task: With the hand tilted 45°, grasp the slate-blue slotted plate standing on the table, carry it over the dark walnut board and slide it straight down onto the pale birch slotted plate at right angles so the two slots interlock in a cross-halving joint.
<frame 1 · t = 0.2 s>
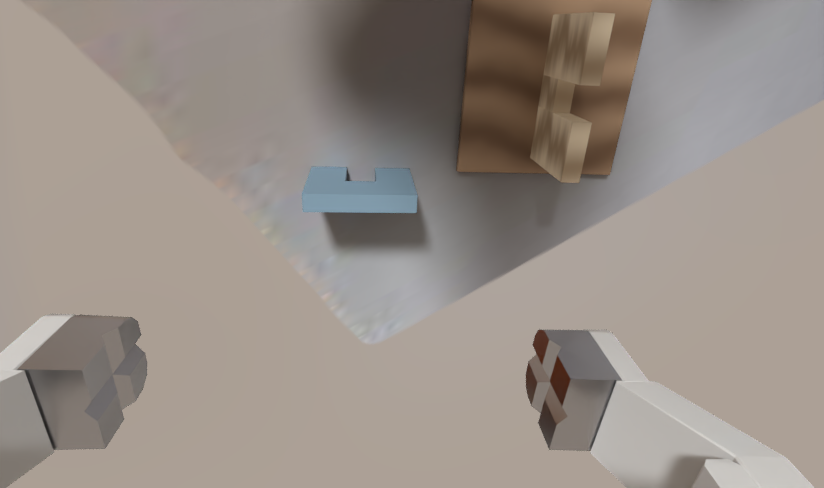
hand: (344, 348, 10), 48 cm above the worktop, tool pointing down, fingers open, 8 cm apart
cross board: (545, 89, 55), on the worktop
slotted plate: (361, 175, 57), on the worktop
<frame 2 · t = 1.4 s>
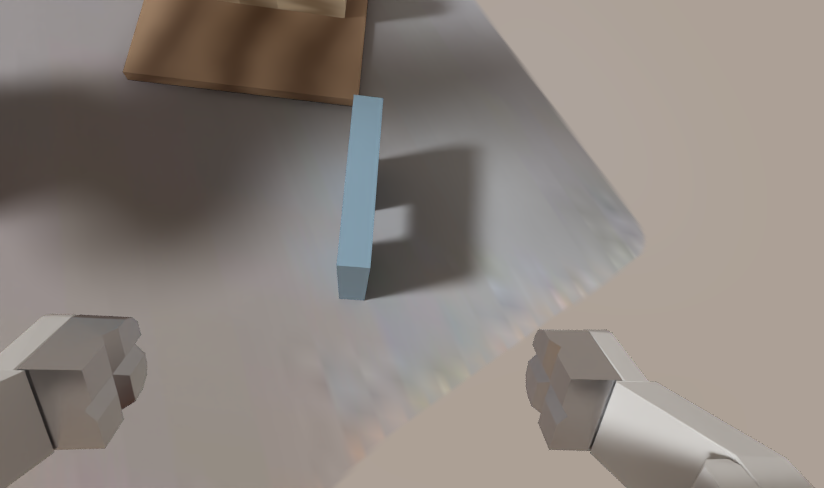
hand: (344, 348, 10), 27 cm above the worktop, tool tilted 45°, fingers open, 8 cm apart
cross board: (262, 6, 44), on the worktop
slotted plate: (357, 229, 38), on the worktop
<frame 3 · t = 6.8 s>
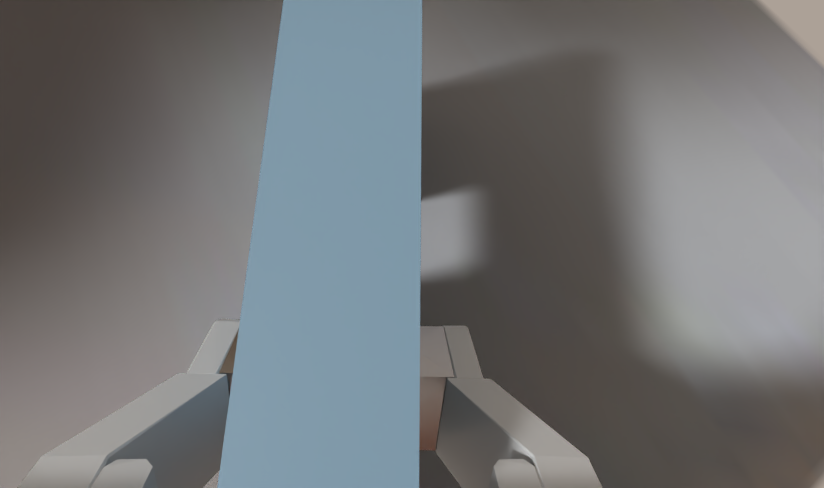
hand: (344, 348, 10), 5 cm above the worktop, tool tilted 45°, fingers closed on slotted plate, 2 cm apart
slotted plate: (356, 251, 16), on the worktop, touching gripper
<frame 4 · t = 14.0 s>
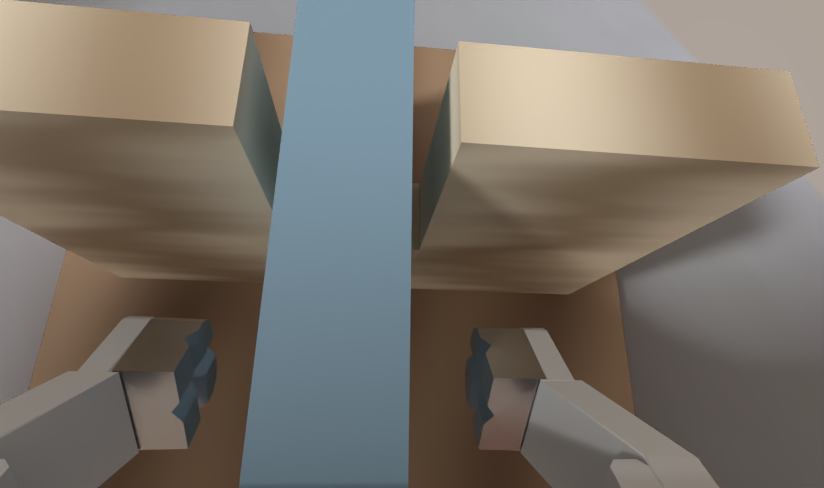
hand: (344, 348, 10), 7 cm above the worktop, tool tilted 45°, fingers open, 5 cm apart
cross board: (357, 267, 18), on the worktop
slotted plate: (356, 264, 17), point 1 cm above the worktop, touching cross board
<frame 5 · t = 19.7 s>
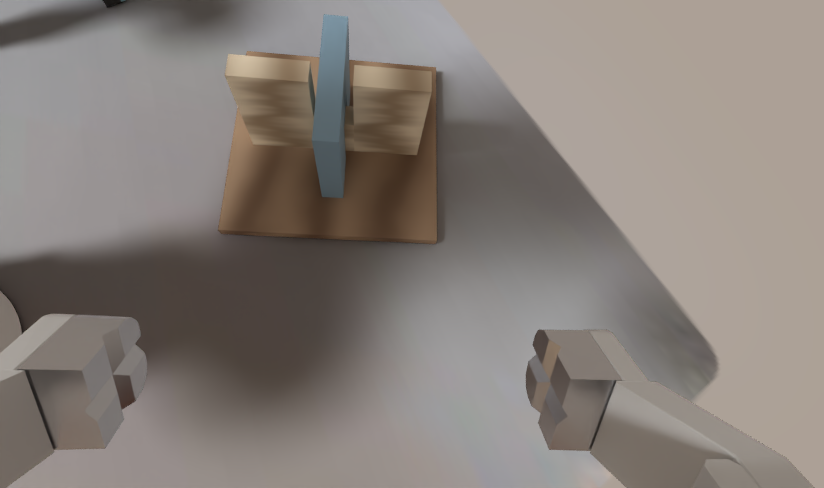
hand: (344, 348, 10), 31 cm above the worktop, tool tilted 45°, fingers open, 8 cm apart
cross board: (337, 146, 46), on the worktop
slotted plate: (336, 142, 45), point 1 cm above the worktop, touching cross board
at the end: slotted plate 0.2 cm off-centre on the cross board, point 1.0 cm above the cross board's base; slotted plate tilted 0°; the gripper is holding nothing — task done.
